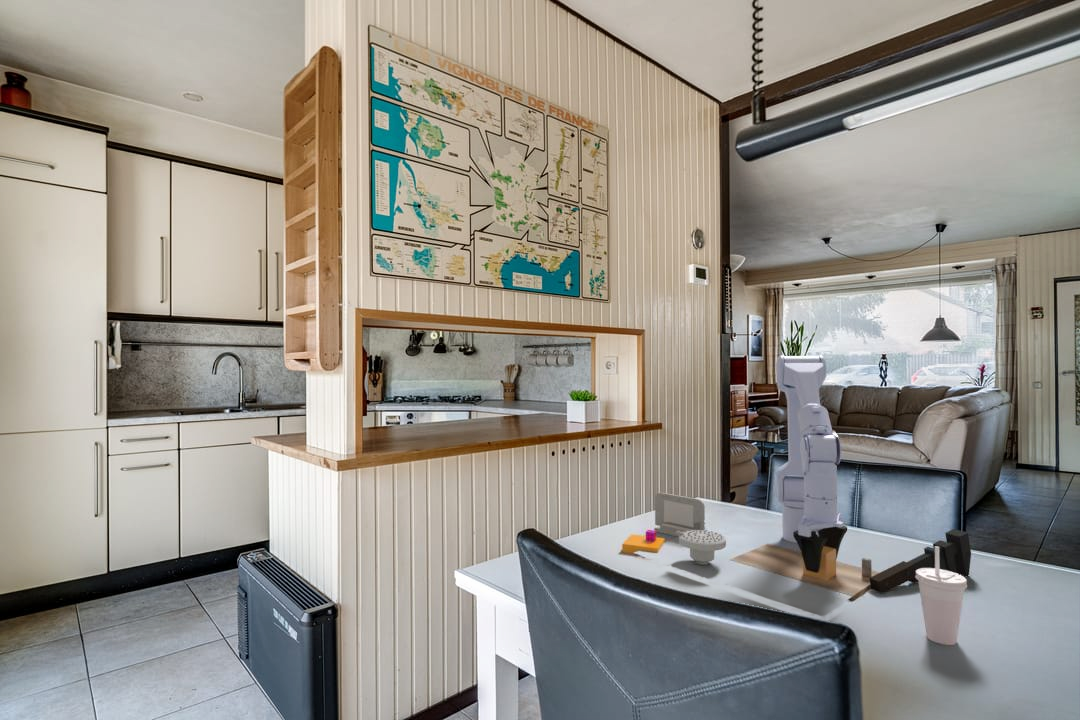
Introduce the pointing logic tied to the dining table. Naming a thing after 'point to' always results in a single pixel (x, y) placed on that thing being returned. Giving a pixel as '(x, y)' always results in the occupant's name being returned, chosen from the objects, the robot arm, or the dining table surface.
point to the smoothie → (941, 601)
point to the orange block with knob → (643, 543)
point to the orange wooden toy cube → (824, 564)
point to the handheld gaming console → (678, 514)
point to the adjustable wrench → (928, 562)
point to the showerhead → (702, 544)
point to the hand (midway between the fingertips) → (820, 566)
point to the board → (791, 566)
